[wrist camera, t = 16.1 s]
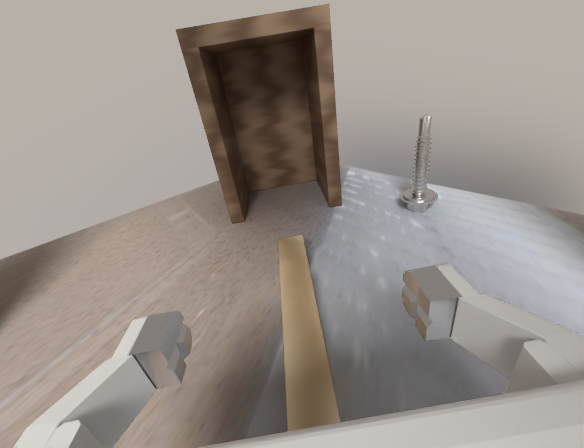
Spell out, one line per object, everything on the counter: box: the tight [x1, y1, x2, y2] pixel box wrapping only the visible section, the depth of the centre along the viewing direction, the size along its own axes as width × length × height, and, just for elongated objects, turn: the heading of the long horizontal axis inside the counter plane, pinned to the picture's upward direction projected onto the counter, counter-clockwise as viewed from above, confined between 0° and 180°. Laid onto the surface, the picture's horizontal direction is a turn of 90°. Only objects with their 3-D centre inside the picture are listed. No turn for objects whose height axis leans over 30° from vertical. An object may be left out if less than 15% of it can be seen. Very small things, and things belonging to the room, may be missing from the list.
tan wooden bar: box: [278, 235, 340, 431], centre depth 23 cm, size 3×24×3 cm, turn 4°
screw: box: [400, 114, 438, 212], centre depth 37 cm, size 13×5×5 cm
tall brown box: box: [176, 4, 342, 224], centre depth 44 cm, size 18×15×26 cm
